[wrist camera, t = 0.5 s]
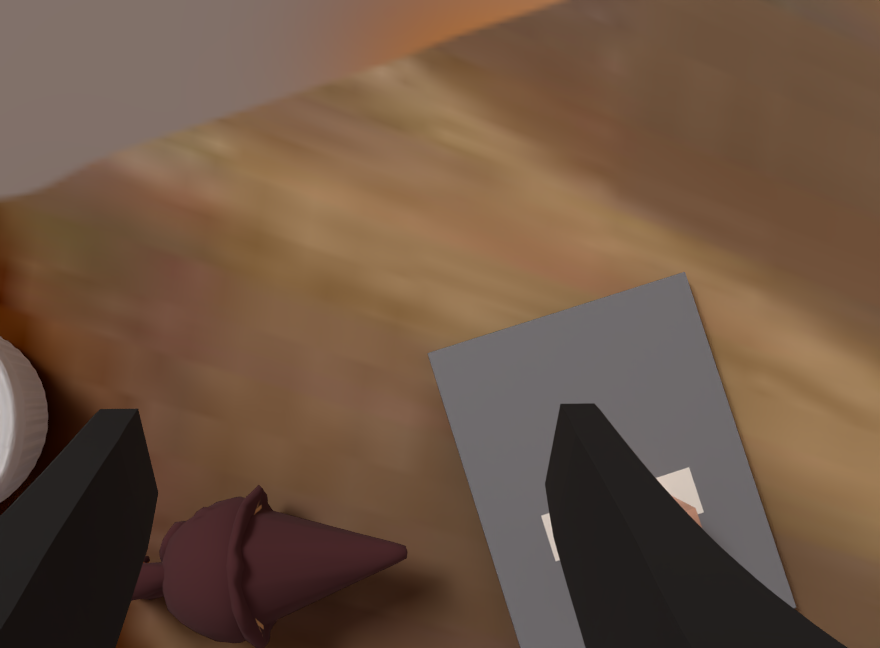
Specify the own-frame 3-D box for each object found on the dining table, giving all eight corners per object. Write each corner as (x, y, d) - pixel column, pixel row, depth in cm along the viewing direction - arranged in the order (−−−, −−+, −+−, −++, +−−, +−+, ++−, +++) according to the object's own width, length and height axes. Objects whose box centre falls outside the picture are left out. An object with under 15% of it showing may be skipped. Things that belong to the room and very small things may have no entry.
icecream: (390, 463, 33) (60, 496, 34) (403, 645, 31) (49, 676, 32) (410, 478, 40) (133, 506, 40) (421, 630, 37) (128, 655, 38)
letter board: (786, 601, 39) (796, 607, 38) (532, 687, 39) (535, 695, 38) (678, 274, 40) (684, 271, 39) (427, 353, 40) (427, 353, 39)
